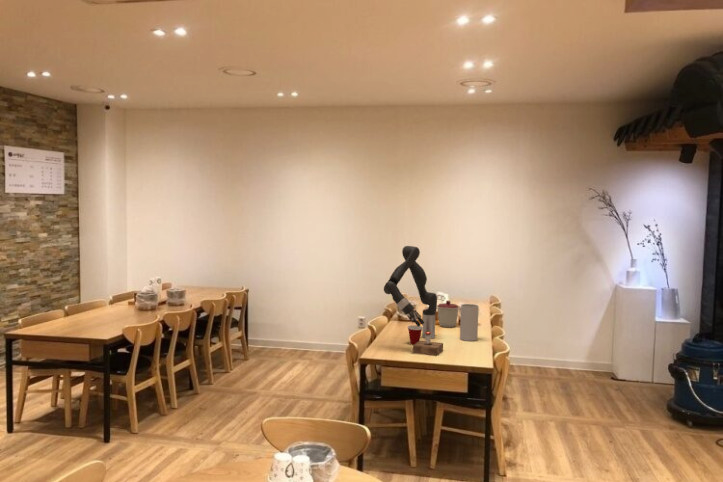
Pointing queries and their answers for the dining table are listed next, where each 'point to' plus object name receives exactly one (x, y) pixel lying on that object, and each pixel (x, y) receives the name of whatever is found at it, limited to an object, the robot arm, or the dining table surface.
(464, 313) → the cylinder vase
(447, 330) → the dining table surface
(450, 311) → the canister
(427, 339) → the lynch pin
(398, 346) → the dining table surface
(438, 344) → the block
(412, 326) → the plastic cup
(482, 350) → the dining table surface
